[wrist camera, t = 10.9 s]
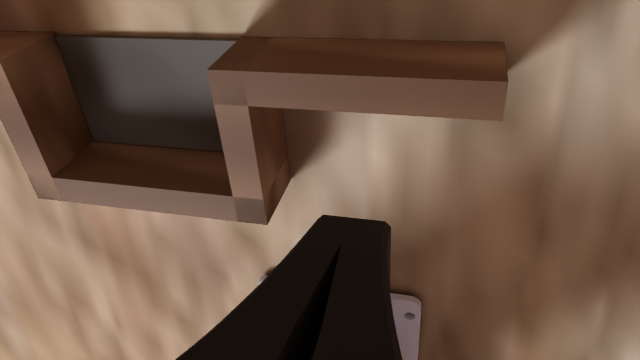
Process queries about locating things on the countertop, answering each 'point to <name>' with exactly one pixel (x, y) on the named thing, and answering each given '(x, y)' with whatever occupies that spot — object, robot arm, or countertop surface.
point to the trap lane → (212, 110)
